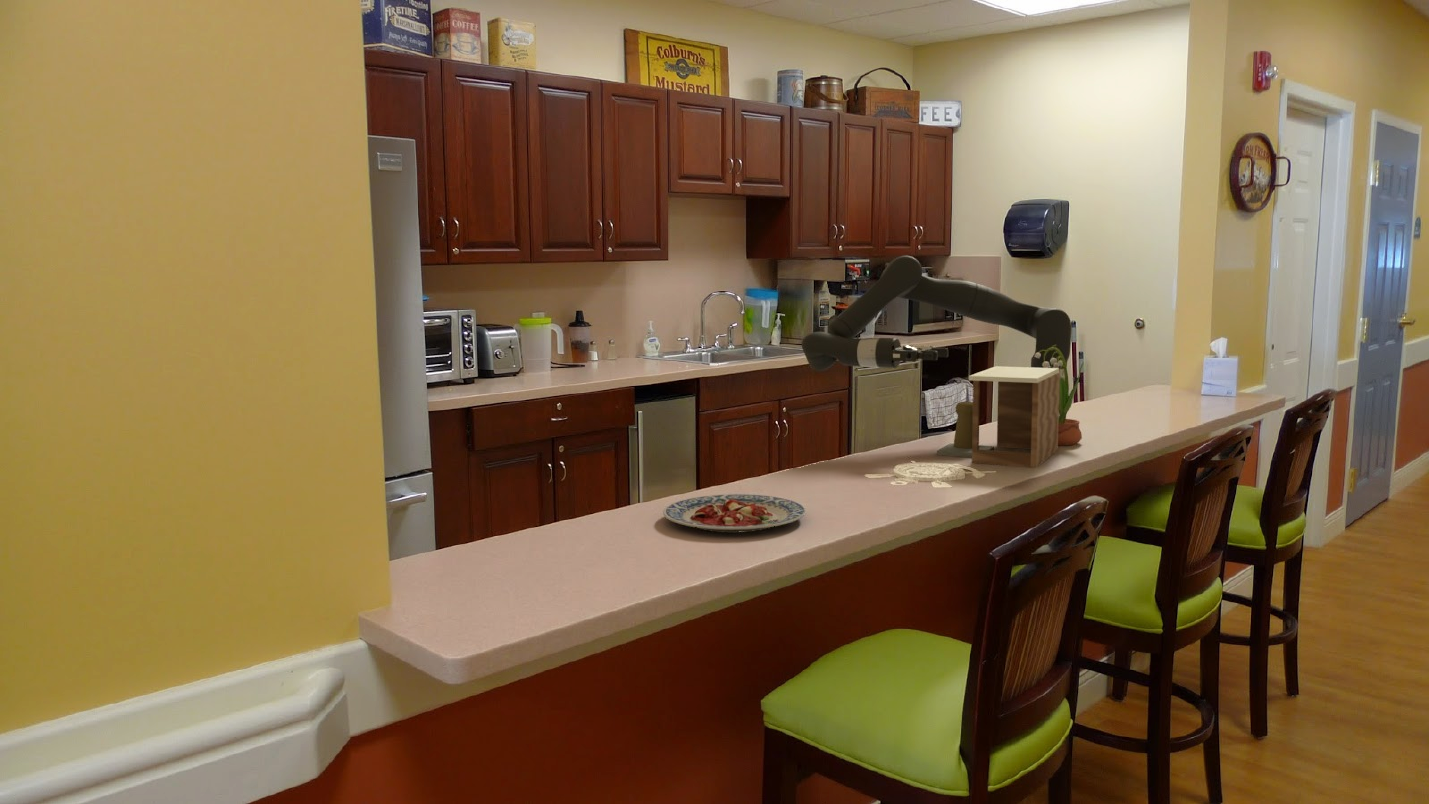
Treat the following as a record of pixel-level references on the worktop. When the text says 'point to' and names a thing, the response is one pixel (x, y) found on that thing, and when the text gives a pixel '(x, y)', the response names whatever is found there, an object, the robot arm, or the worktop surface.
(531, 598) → the worktop surface
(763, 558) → the worktop surface
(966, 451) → the slate mat
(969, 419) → the cork
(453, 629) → the worktop surface
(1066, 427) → the potted flower
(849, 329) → the robot arm
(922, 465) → the pendant
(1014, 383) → the wooden cabinet
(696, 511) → the ceramic plate
